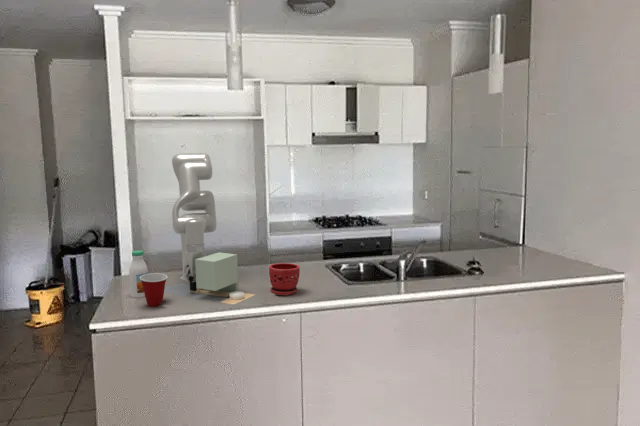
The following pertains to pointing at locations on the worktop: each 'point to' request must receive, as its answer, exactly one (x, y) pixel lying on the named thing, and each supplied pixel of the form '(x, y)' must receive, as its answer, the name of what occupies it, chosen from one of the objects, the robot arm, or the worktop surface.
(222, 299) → the board
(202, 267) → the shelf block
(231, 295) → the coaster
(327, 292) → the worktop surface
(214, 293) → the block
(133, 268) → the milk bottle
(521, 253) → the worktop surface
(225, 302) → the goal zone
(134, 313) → the worktop surface
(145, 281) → the plastic cup
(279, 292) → the plant pot
